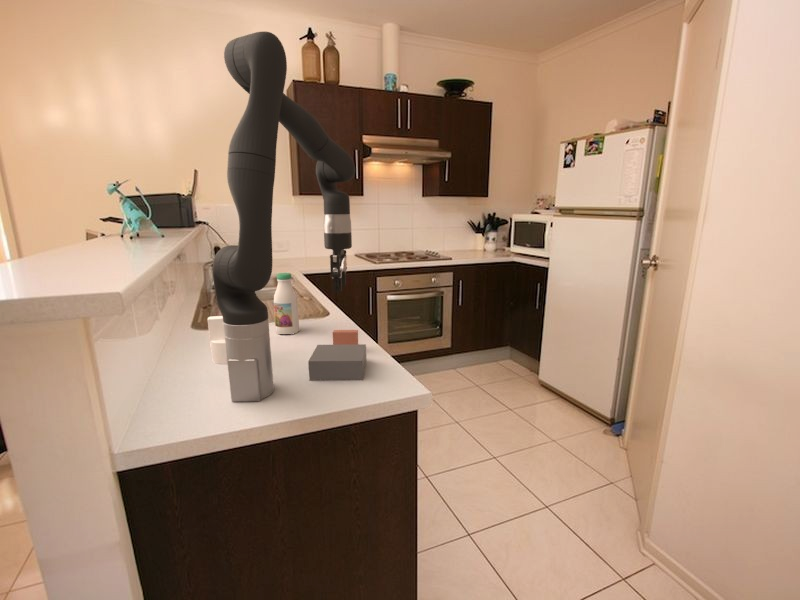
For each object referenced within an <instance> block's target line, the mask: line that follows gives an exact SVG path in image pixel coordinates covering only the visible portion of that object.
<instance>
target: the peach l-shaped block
mask: <svg viewBox="0 0 800 600" xmlns="http://www.w3.org/2000/svg"><path fill="white" fill-rule="evenodd" d="M352 344H359V330H358V329H334V330H333V331H332V345H352Z"/></svg>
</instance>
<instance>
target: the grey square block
mask: <svg viewBox="0 0 800 600" xmlns="http://www.w3.org/2000/svg"><path fill="white" fill-rule="evenodd" d="M307 362H308V363H307V364H308V376H309V378H308V380H309V381H363V380H364V375H365V371H366V366H367V344H362V343H361V344H360V343H358V344H352V345H333V344H317V345H316V347H315V349H314V350H313V352H312V353H311V356H310V357H309V359H308V361H307Z"/></svg>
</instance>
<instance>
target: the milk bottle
mask: <svg viewBox="0 0 800 600" xmlns="http://www.w3.org/2000/svg"><path fill="white" fill-rule="evenodd" d="M276 281H277V286H276V289H275V292H274V294H273V311H274V312H273V314H274V326H275V333H276V334H277V333H278V334H277V335H279V334H291V335H294V334H293V333H295V334H297V333H299V332H300V321H299V320H300V317H299V304H298V303H299V302H298V296H297V294H296V291H295V290H294V286H293V284H292V274H291V273H290V272H280V273H276ZM298 331H299V332H298Z"/></svg>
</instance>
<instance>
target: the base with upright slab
mask: <svg viewBox="0 0 800 600" xmlns="http://www.w3.org/2000/svg"><path fill="white" fill-rule="evenodd" d="M207 325H208V326H207V327H208V328H207V329H208V336H209V345H210V351H211V352H210V354H211V360H212V363H214V364H216V365H228V362H227V353H226V343H225V333H224V323H223V316H222V315H215V316H214V315H213V316H208V317H207Z"/></svg>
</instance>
